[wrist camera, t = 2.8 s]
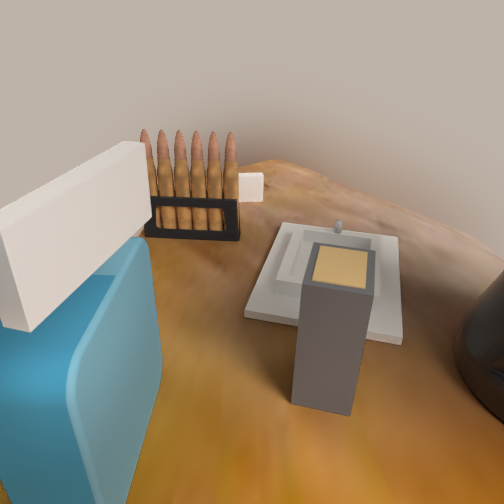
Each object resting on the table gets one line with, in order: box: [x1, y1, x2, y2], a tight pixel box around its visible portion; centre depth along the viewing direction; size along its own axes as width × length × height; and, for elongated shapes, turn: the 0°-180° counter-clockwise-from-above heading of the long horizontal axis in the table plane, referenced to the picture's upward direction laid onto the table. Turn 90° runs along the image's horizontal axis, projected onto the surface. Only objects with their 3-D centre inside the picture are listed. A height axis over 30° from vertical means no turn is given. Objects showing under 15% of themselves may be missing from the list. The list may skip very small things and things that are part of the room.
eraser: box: [238, 173, 264, 202], centre depth 58 cm, size 1×5×4 cm, turn 96°
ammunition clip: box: [140, 129, 240, 241], centre depth 47 cm, size 11×2×12 cm, turn 86°
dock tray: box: [244, 220, 403, 345], centre depth 43 cm, size 13×17×4 cm
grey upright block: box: [291, 242, 376, 416], centre depth 29 cm, size 4×5×10 cm
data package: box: [0, 237, 162, 504], centre depth 24 cm, size 12×4×12 cm, turn 177°
